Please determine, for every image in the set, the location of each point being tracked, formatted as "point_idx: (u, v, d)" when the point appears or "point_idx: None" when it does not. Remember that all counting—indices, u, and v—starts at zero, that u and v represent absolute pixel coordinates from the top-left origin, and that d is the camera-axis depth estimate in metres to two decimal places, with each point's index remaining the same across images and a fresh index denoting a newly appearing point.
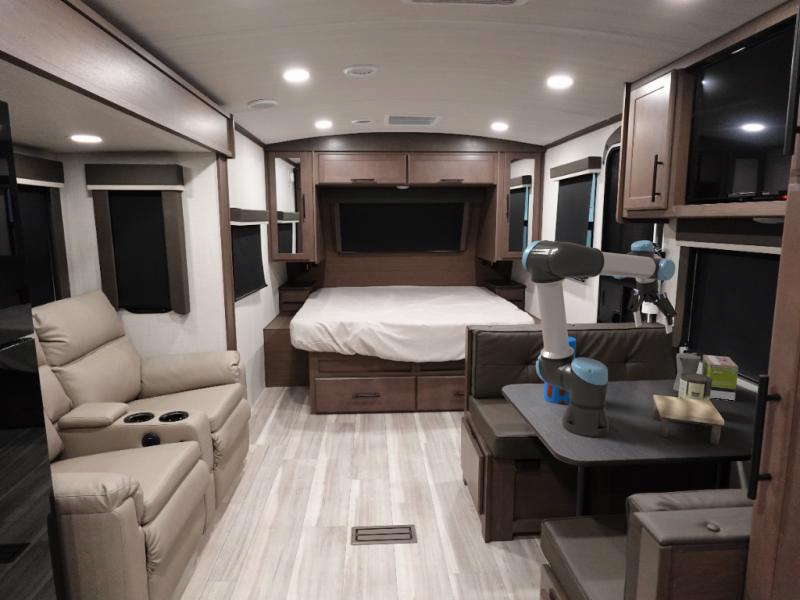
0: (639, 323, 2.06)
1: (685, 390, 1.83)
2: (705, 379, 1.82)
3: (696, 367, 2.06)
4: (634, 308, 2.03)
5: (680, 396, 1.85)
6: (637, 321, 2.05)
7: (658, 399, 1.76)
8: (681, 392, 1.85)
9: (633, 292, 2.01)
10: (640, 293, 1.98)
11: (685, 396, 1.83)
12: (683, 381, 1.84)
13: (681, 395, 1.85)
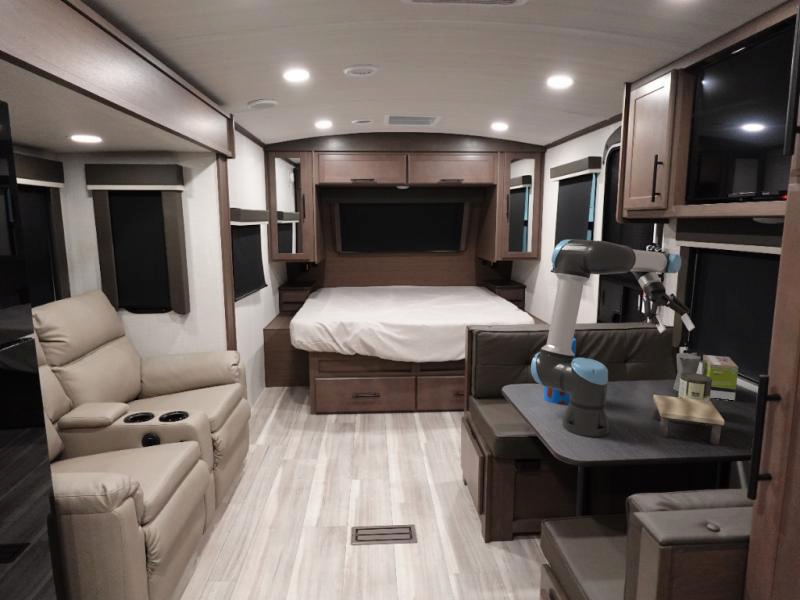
0: None
1: (685, 390, 1.83)
2: (705, 379, 1.82)
3: (696, 367, 2.06)
4: (655, 311, 1.94)
5: (680, 396, 1.85)
6: None
7: (658, 399, 1.76)
8: (681, 392, 1.85)
9: (648, 296, 1.98)
10: (654, 296, 1.99)
11: (685, 396, 1.83)
12: (683, 381, 1.84)
13: (681, 395, 1.85)
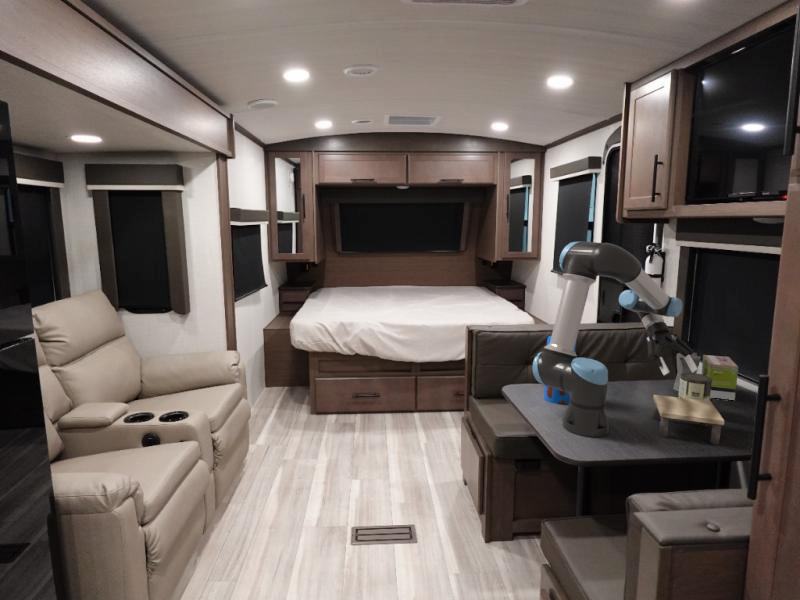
0: None
1: (685, 390, 1.83)
2: (705, 379, 1.82)
3: None
4: (658, 353, 1.94)
5: (680, 396, 1.85)
6: None
7: (658, 399, 1.76)
8: (681, 392, 1.85)
9: (651, 337, 1.98)
10: (658, 336, 1.99)
11: (685, 396, 1.83)
12: (683, 381, 1.84)
13: (681, 395, 1.85)
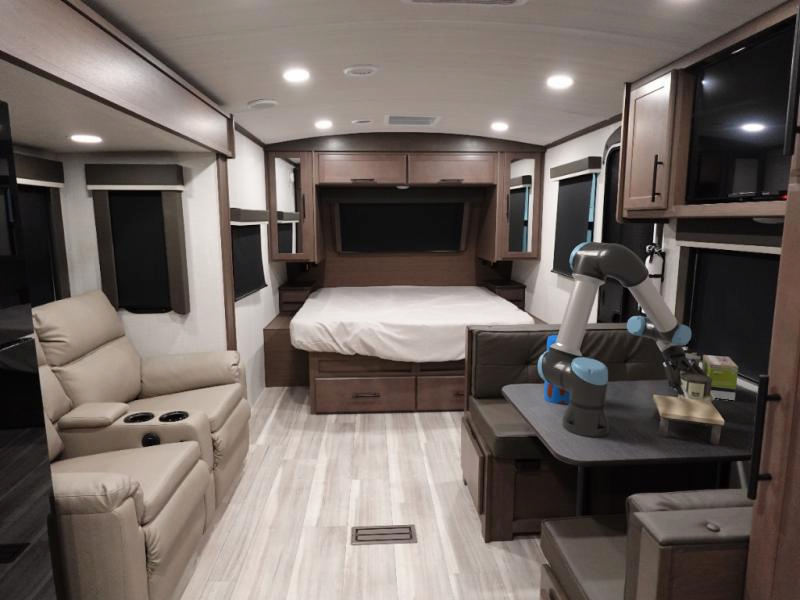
0: None
1: None
2: (705, 379, 1.82)
3: None
4: (679, 380, 1.85)
5: (680, 396, 1.85)
6: None
7: (658, 399, 1.76)
8: None
9: (668, 362, 1.89)
10: (674, 360, 1.90)
11: None
12: (683, 381, 1.84)
13: None
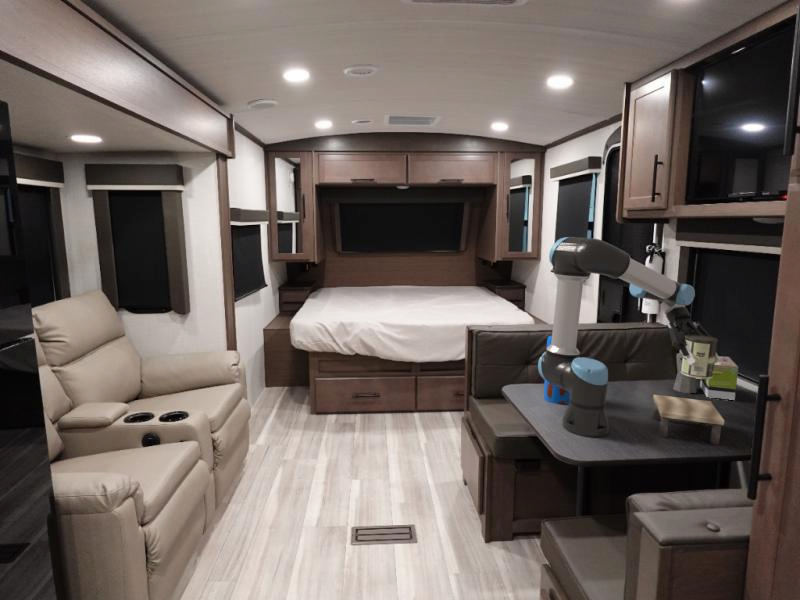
0: None
1: None
2: (710, 339, 1.77)
3: None
4: (683, 341, 1.81)
5: (685, 357, 1.81)
6: None
7: (658, 399, 1.76)
8: None
9: (672, 323, 1.85)
10: (678, 322, 1.86)
11: None
12: (687, 342, 1.79)
13: None
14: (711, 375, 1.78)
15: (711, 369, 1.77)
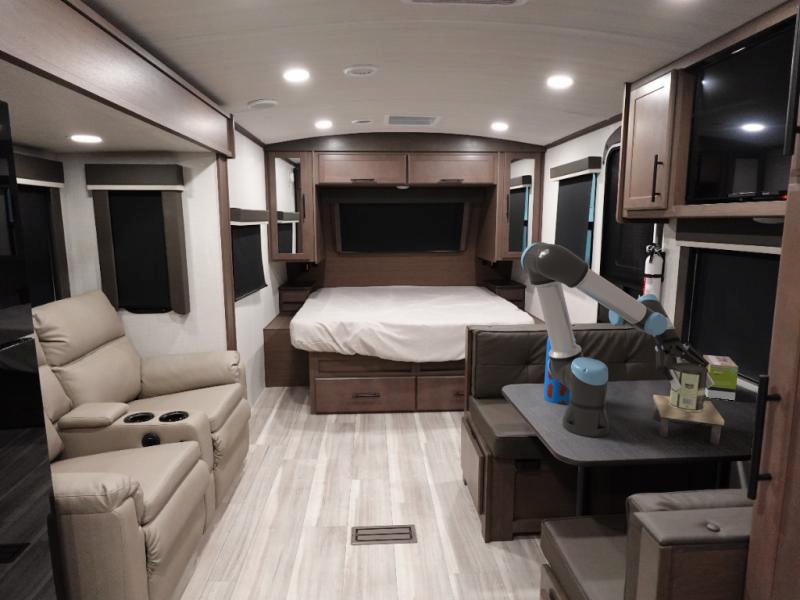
0: None
1: None
2: (700, 369, 1.64)
3: None
4: (668, 364, 1.68)
5: None
6: None
7: (658, 399, 1.76)
8: None
9: (660, 346, 1.72)
10: (667, 345, 1.73)
11: None
12: (675, 372, 1.67)
13: None
14: (701, 408, 1.65)
15: (701, 401, 1.64)
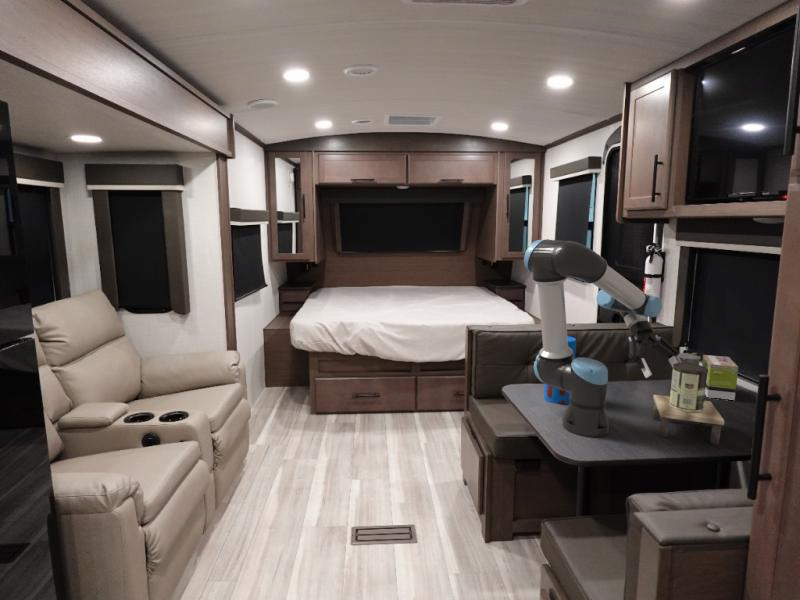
0: None
1: (678, 381, 1.66)
2: (700, 369, 1.64)
3: None
4: (640, 353, 1.80)
5: (673, 388, 1.68)
6: None
7: (658, 399, 1.76)
8: (674, 384, 1.68)
9: (633, 336, 1.84)
10: (640, 336, 1.85)
11: (678, 388, 1.66)
12: (675, 372, 1.67)
13: (674, 387, 1.68)
14: (701, 408, 1.65)
15: (701, 401, 1.64)
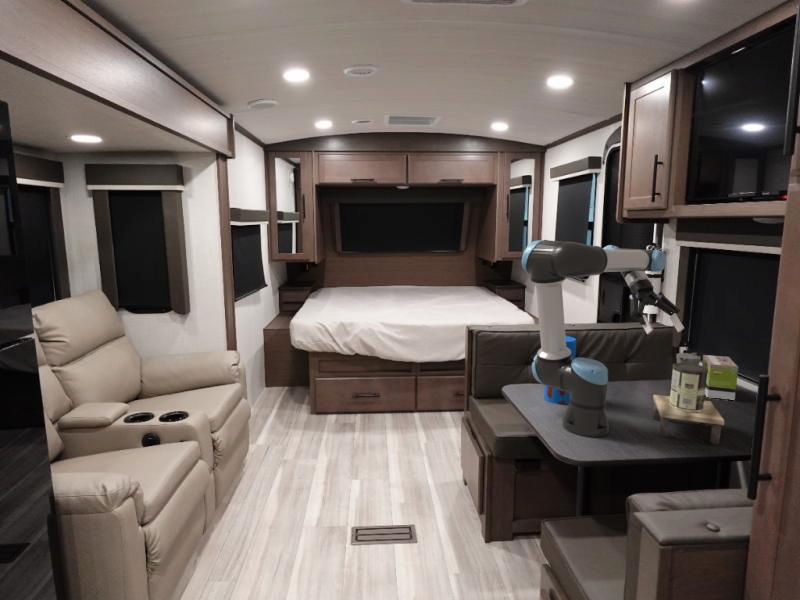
0: None
1: (678, 381, 1.66)
2: (700, 369, 1.65)
3: None
4: (641, 310, 1.81)
5: (673, 388, 1.68)
6: None
7: (658, 399, 1.76)
8: (674, 384, 1.68)
9: (634, 294, 1.85)
10: (641, 294, 1.86)
11: (678, 388, 1.66)
12: (675, 372, 1.67)
13: (674, 387, 1.68)
14: (701, 408, 1.65)
15: (701, 401, 1.64)
